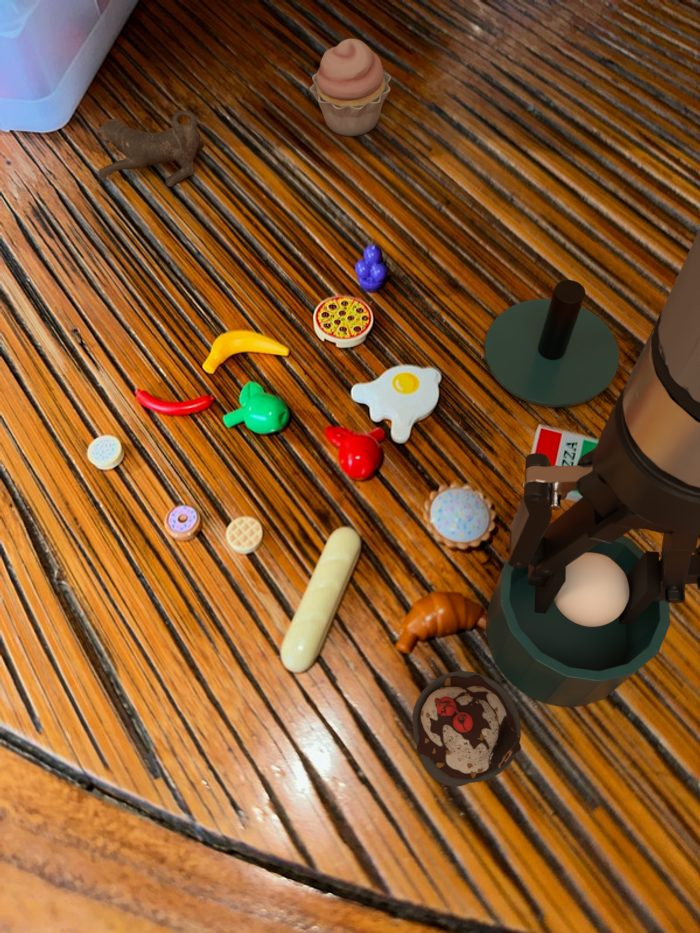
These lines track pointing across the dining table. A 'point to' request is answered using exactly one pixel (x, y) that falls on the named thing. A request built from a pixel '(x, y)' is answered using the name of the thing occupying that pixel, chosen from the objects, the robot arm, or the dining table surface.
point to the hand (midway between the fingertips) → (582, 599)
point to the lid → (552, 349)
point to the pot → (569, 639)
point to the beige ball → (593, 591)
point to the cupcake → (350, 88)
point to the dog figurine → (154, 146)
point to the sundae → (465, 728)
